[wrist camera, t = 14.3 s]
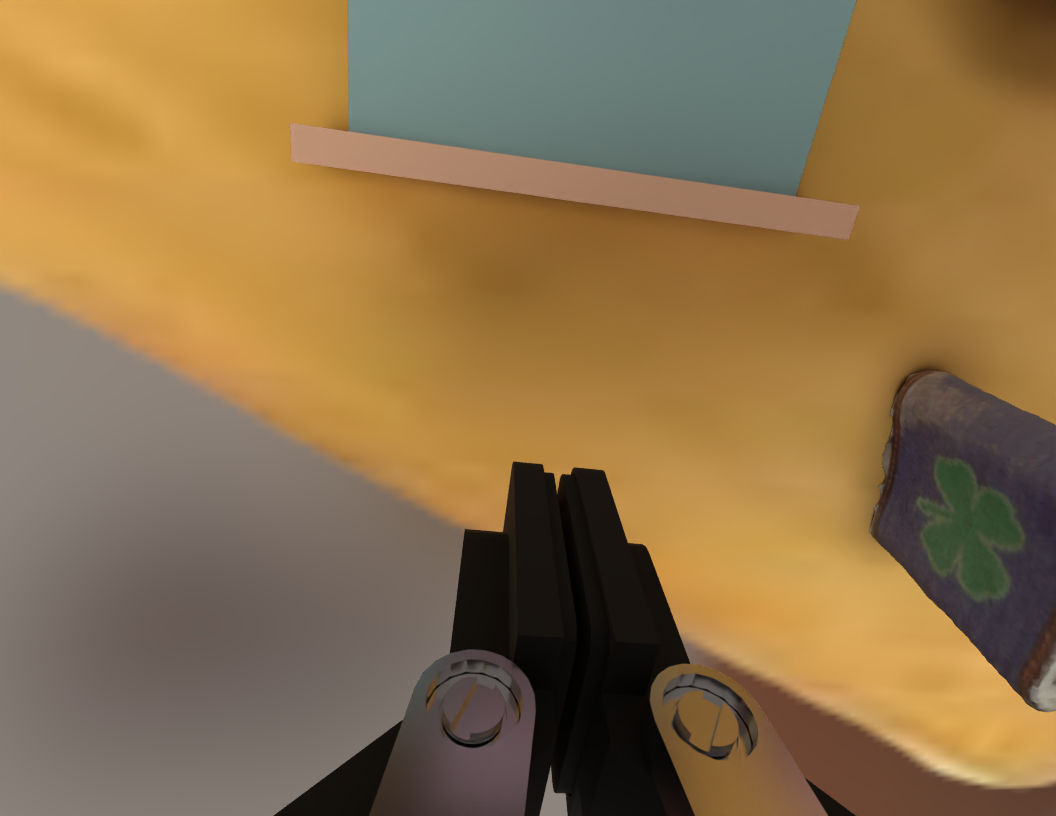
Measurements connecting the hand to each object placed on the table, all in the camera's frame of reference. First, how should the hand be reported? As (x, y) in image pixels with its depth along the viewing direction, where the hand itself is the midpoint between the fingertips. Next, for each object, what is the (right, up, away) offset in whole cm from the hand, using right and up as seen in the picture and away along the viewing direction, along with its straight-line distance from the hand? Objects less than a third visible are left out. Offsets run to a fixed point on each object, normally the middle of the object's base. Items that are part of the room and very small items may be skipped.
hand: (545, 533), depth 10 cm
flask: (+17, 0, +14) cm, 22 cm away
